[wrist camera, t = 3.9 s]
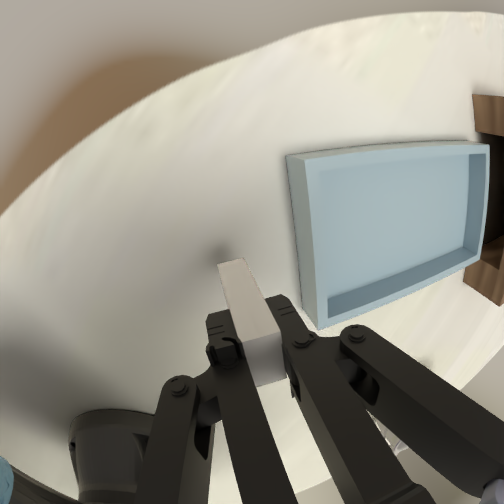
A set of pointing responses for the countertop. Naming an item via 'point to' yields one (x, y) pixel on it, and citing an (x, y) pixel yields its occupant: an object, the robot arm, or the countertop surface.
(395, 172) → the tray
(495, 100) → the shelf
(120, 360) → the countertop surface
